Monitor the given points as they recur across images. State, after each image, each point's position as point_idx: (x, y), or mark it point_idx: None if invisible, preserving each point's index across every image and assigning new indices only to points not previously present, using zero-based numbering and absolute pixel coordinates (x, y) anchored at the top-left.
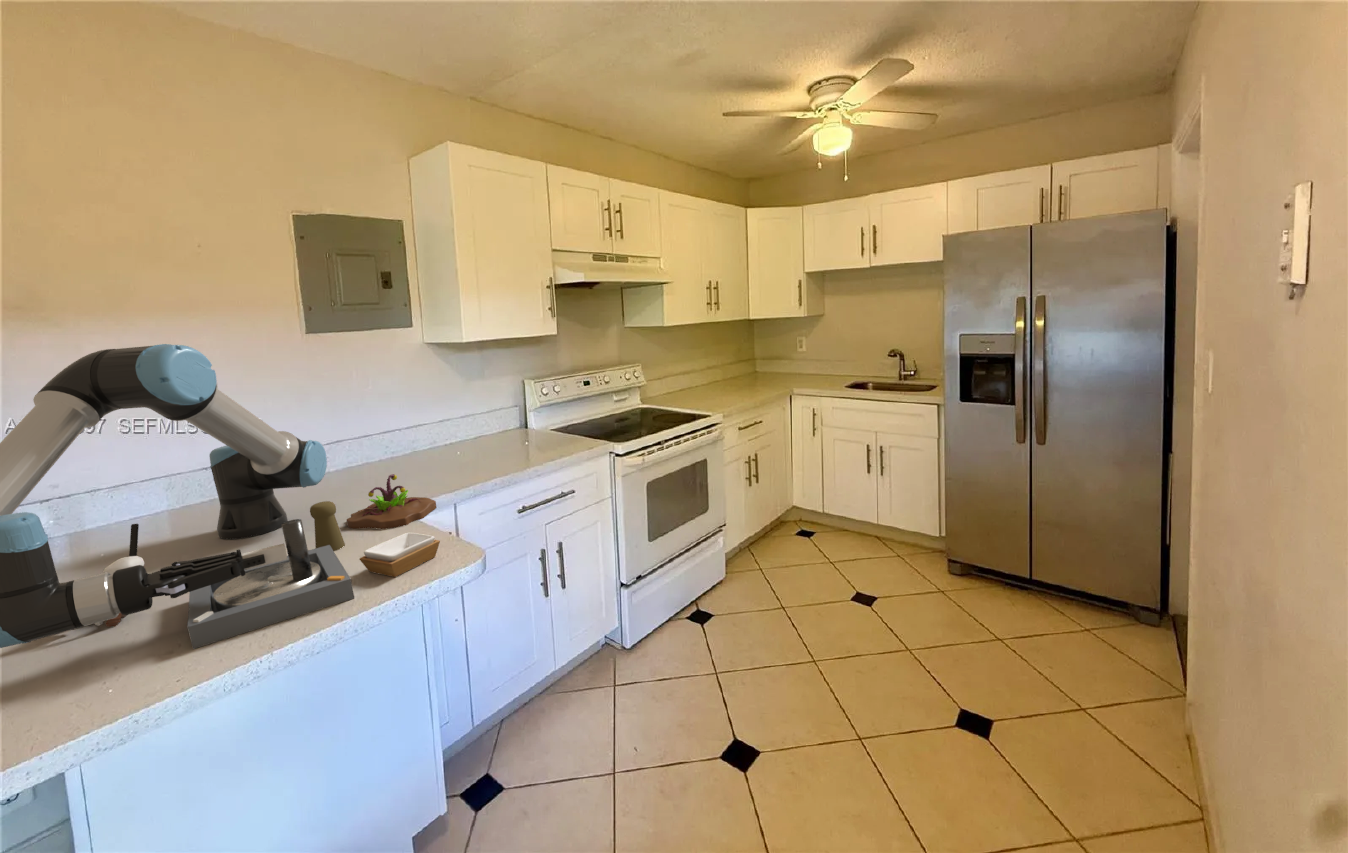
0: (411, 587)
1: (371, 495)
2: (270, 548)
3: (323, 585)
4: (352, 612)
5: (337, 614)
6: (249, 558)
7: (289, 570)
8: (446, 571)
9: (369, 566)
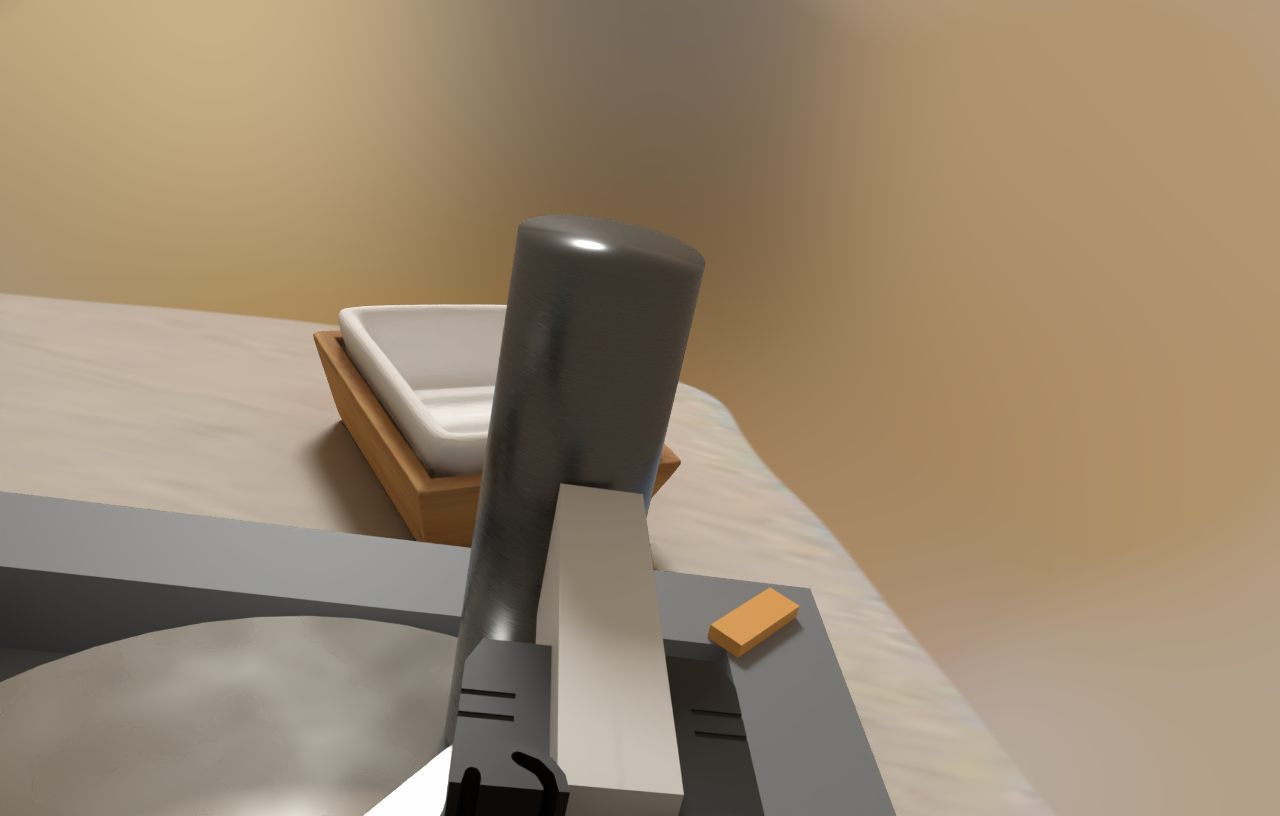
0: (809, 537)
1: None
2: (637, 566)
3: (823, 690)
4: (974, 745)
5: (963, 799)
6: (714, 772)
7: (197, 767)
8: (723, 441)
9: (471, 520)
